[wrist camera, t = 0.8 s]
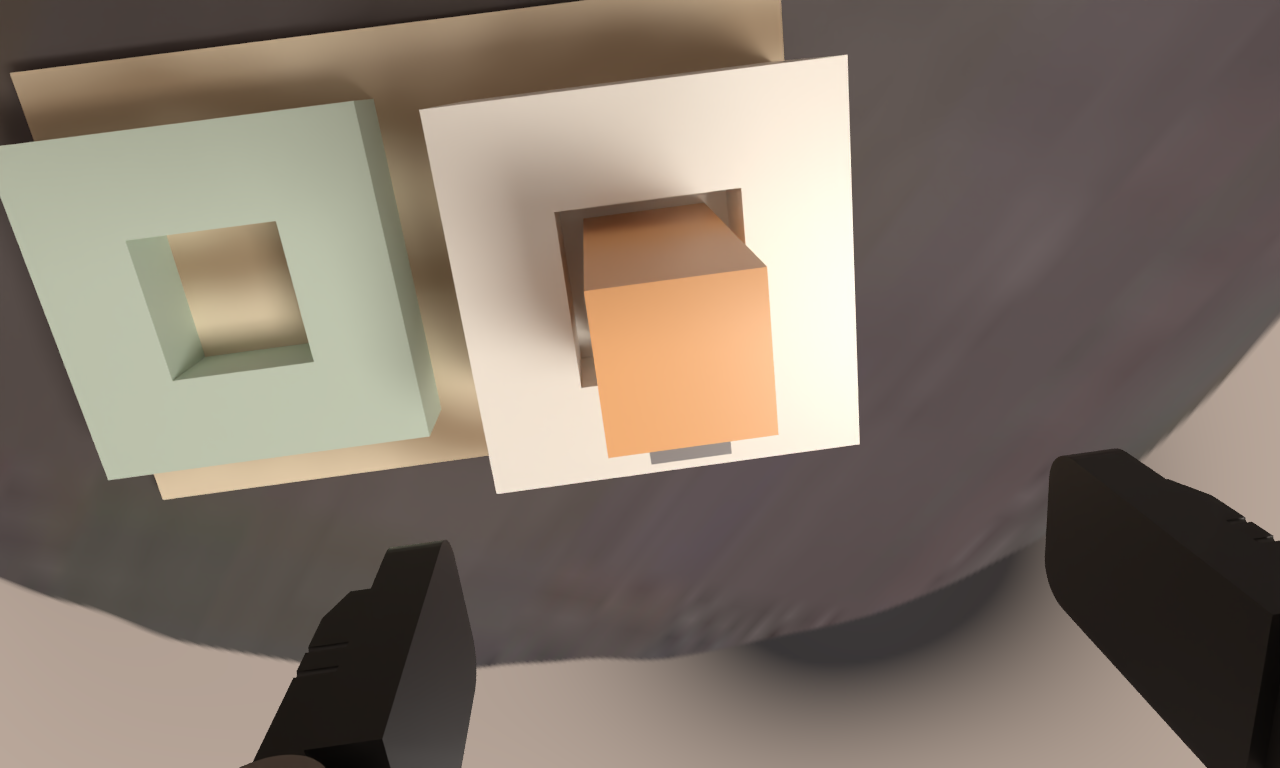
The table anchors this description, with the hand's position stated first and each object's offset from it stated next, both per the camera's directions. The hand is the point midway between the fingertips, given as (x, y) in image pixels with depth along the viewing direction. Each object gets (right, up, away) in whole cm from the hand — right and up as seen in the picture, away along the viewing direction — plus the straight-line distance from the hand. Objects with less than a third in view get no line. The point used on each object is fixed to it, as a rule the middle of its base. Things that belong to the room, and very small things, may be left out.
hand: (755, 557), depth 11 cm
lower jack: (-17, +6, +23) cm, 30 cm away
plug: (-1, +6, +17) cm, 18 cm away
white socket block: (-2, +9, +24) cm, 25 cm away
